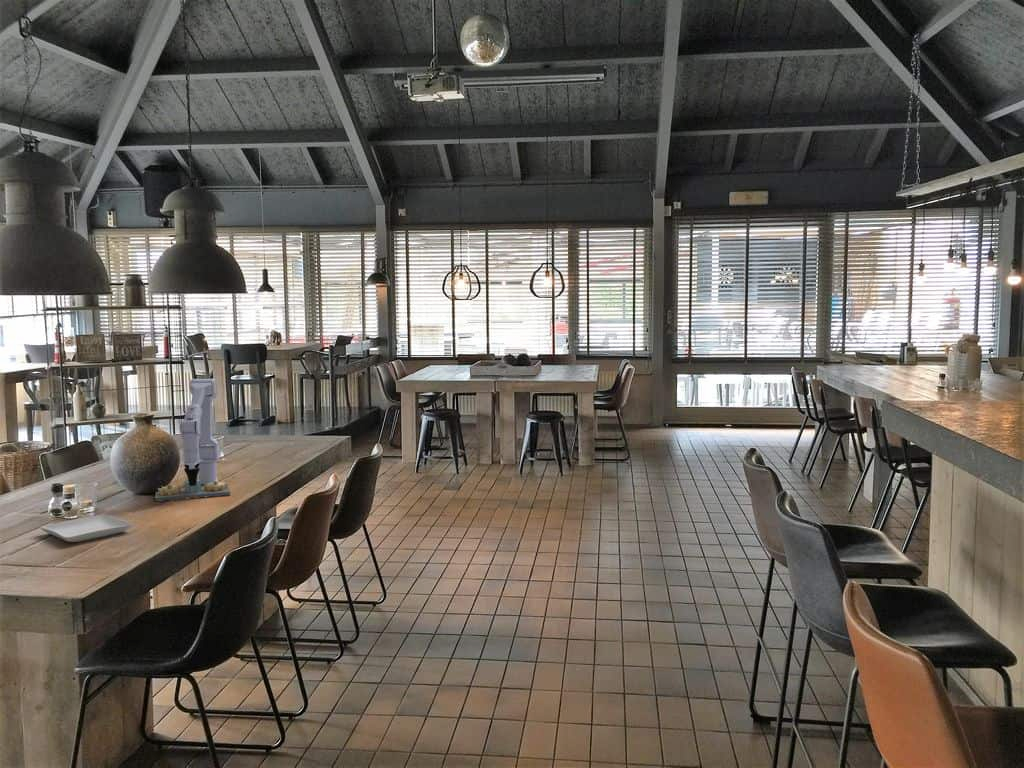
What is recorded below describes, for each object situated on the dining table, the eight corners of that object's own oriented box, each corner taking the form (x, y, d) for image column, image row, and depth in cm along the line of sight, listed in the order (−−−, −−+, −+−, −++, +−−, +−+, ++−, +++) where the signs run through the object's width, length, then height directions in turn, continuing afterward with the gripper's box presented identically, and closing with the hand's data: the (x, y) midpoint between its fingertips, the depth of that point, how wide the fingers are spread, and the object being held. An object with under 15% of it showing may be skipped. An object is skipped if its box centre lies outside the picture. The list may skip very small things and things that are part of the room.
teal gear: (185, 490, 319) (184, 480, 318) (200, 488, 321) (200, 478, 321) (185, 493, 314) (184, 483, 313) (201, 491, 316) (200, 481, 315)
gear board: (156, 493, 319) (155, 481, 318) (228, 487, 329) (227, 475, 328) (155, 501, 306) (154, 489, 305) (230, 495, 316) (229, 482, 316)
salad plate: (105, 522, 279) (104, 512, 279) (134, 533, 266) (134, 523, 266) (39, 535, 263) (38, 525, 263) (66, 548, 250) (66, 537, 249)
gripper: (202, 452, 310) (203, 486, 312) (201, 446, 324) (203, 479, 325) (182, 453, 308) (184, 488, 309) (182, 447, 321) (184, 480, 323)
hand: (192, 483), depth 317 cm, fingers open, 7 cm apart
